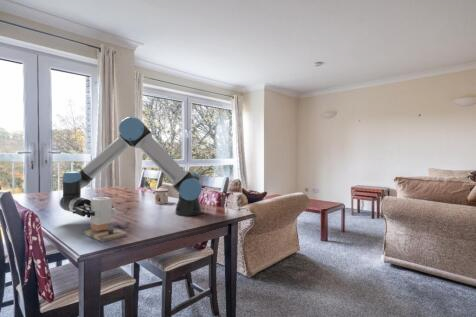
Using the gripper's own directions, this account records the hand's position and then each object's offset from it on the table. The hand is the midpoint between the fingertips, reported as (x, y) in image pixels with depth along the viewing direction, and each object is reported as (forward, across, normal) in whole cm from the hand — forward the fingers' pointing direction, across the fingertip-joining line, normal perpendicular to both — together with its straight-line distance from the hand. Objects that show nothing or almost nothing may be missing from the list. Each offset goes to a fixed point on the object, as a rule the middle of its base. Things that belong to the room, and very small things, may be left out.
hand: (107, 213), depth 116 cm
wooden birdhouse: (-39, -61, -10) cm, 73 cm away
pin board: (-2, 0, -10) cm, 10 cm away
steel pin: (+2, 0, -8) cm, 8 cm away
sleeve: (-5, 0, -7) cm, 9 cm away
